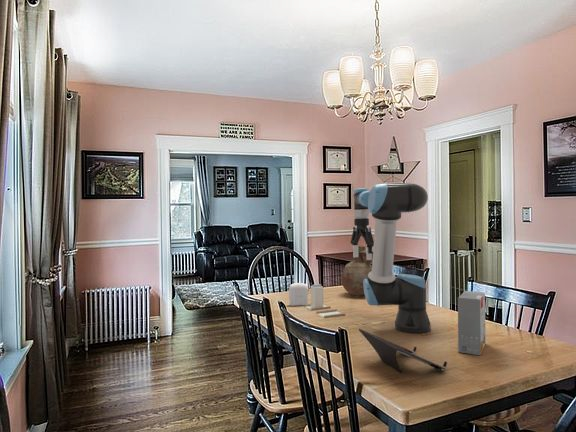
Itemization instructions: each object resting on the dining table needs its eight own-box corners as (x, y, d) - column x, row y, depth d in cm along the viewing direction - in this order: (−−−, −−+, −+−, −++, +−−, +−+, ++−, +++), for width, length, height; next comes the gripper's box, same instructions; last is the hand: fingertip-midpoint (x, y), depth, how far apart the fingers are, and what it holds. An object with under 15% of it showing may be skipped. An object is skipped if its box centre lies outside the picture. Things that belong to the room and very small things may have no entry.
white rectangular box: (323, 307, 213) (323, 285, 213) (314, 308, 211) (314, 285, 211) (319, 305, 218) (319, 283, 218) (311, 306, 216) (310, 284, 216)
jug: (351, 290, 263) (350, 244, 263) (382, 293, 251) (381, 245, 250) (335, 296, 246) (334, 247, 245) (368, 300, 233) (366, 248, 233)
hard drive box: (481, 356, 142) (480, 299, 142) (457, 352, 146) (456, 297, 146) (486, 343, 155) (485, 291, 155) (464, 340, 160) (463, 290, 159)
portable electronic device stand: (445, 394, 127) (455, 366, 129) (388, 371, 120) (399, 342, 122) (401, 368, 149) (410, 344, 150) (351, 347, 142) (360, 322, 143)
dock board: (346, 317, 197) (346, 313, 197) (323, 320, 193) (323, 316, 193) (323, 306, 221) (323, 302, 221) (303, 308, 217) (303, 304, 217)
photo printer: (307, 303, 229) (306, 281, 229) (308, 305, 225) (308, 283, 224) (289, 304, 227) (288, 282, 227) (290, 306, 223) (289, 284, 223)
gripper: (381, 218, 202) (381, 260, 202) (355, 217, 225) (356, 255, 225) (367, 218, 199) (368, 261, 199) (343, 218, 223) (344, 256, 223)
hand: (362, 258), depth 212 cm, fingers open, 13 cm apart
